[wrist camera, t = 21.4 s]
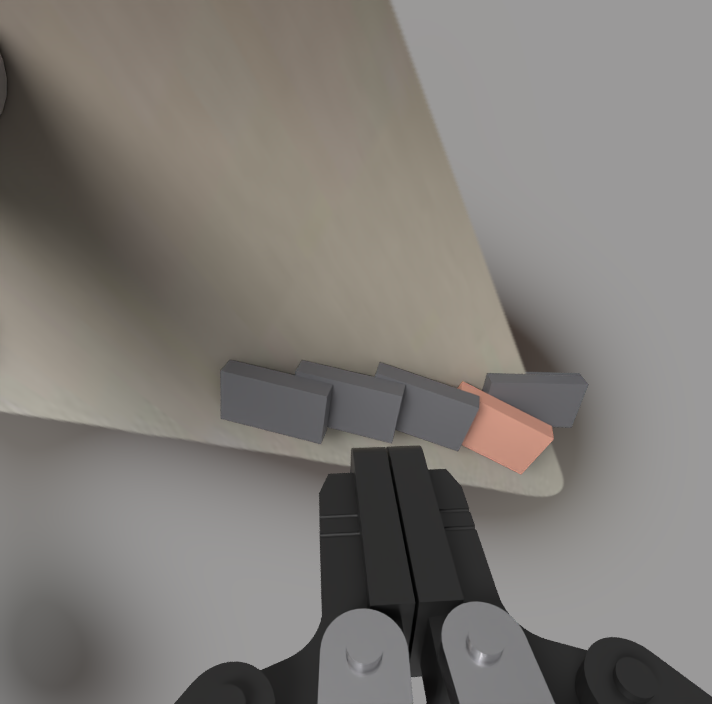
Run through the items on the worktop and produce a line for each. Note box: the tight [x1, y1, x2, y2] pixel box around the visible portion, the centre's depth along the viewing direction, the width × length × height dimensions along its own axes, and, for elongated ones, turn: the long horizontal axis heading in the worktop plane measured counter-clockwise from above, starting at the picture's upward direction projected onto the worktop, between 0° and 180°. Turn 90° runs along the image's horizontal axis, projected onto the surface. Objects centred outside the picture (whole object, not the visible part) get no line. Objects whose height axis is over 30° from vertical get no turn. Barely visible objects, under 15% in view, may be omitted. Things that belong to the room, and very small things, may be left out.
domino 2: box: [295, 360, 405, 443], centre depth 44 cm, size 2×5×9 cm
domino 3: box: [375, 362, 480, 451], centre depth 45 cm, size 2×5×9 cm
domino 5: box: [482, 372, 588, 427], centre depth 48 cm, size 2×5×9 cm
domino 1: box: [221, 360, 333, 444], centre depth 44 cm, size 2×5×9 cm
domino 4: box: [457, 381, 554, 474], centre depth 47 cm, size 2×5×9 cm
